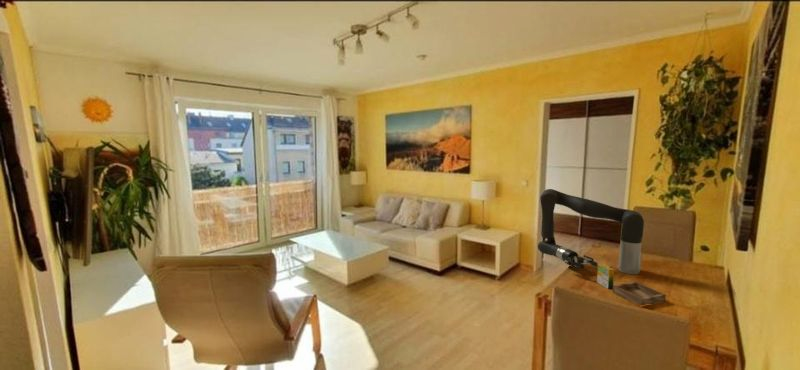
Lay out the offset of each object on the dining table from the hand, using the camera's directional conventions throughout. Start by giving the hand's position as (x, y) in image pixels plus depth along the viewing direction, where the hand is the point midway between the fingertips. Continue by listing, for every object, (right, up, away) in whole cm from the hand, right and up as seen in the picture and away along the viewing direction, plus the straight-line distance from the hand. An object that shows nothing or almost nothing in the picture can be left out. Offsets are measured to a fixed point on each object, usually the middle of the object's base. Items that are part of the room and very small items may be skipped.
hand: (590, 265), depth 171 cm
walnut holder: (+10, -9, -20) cm, 25 cm away
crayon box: (+3, -8, -8) cm, 12 cm away
